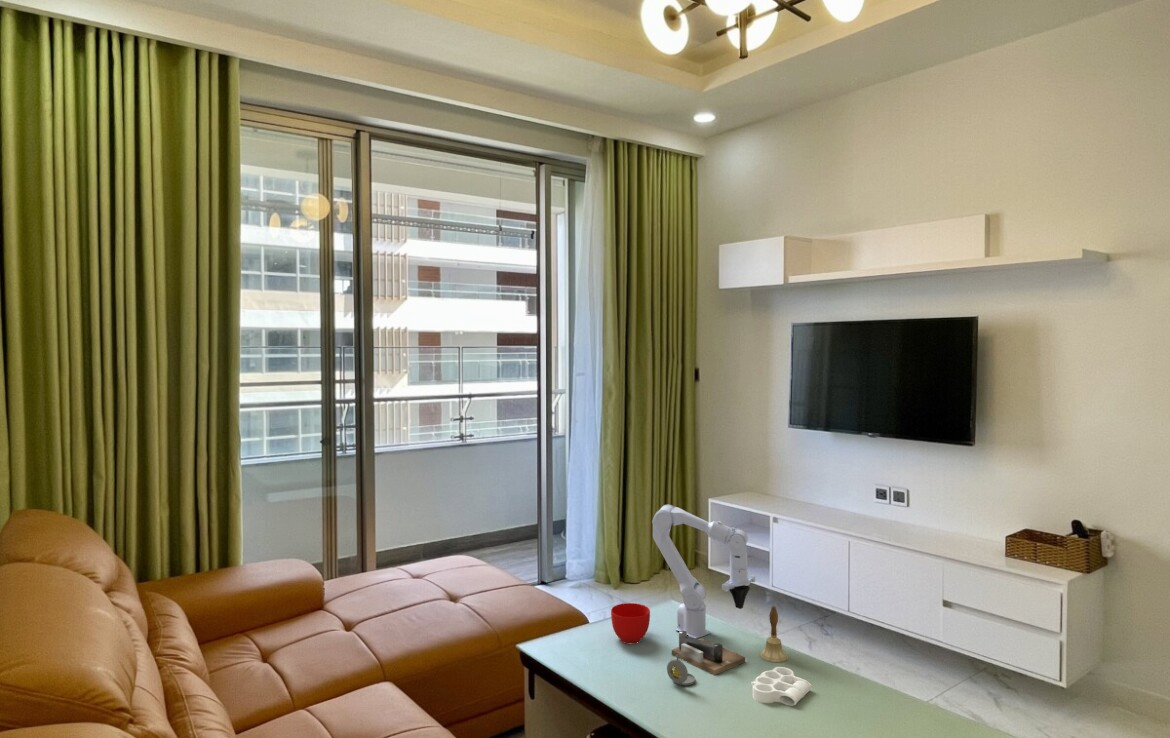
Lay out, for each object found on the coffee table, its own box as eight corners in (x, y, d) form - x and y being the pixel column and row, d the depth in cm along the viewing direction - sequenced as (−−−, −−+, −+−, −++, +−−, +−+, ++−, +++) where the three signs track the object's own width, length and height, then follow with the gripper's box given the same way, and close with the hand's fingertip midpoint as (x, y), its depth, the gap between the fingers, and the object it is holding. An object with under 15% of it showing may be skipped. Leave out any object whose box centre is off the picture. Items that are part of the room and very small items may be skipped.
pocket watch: (694, 676, 210) (694, 643, 209) (696, 690, 201) (696, 655, 201) (666, 675, 210) (666, 642, 210) (667, 688, 202) (667, 654, 202)
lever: (677, 648, 224) (677, 632, 224) (682, 645, 226) (682, 629, 226) (719, 663, 214) (719, 646, 214) (724, 660, 216) (724, 643, 216)
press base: (671, 654, 224) (671, 640, 224) (702, 642, 233) (702, 629, 233) (714, 675, 210) (714, 660, 210) (745, 662, 219) (745, 647, 219)
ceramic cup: (662, 633, 241) (661, 604, 241) (638, 651, 227) (638, 620, 226) (628, 625, 248) (628, 596, 247) (603, 642, 234) (603, 612, 233)
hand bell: (790, 662, 218) (790, 611, 218) (763, 662, 218) (763, 611, 218) (783, 650, 227) (783, 601, 226) (757, 650, 227) (757, 601, 226)
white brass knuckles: (790, 713, 189) (740, 696, 198) (816, 688, 203) (768, 673, 212) (790, 701, 189) (740, 684, 198) (816, 676, 203) (768, 662, 212)
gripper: (733, 574, 228) (734, 616, 228) (762, 565, 237) (762, 605, 237) (716, 569, 233) (717, 610, 234) (745, 560, 242) (746, 599, 243)
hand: (739, 607), depth 236 cm, fingers closed
